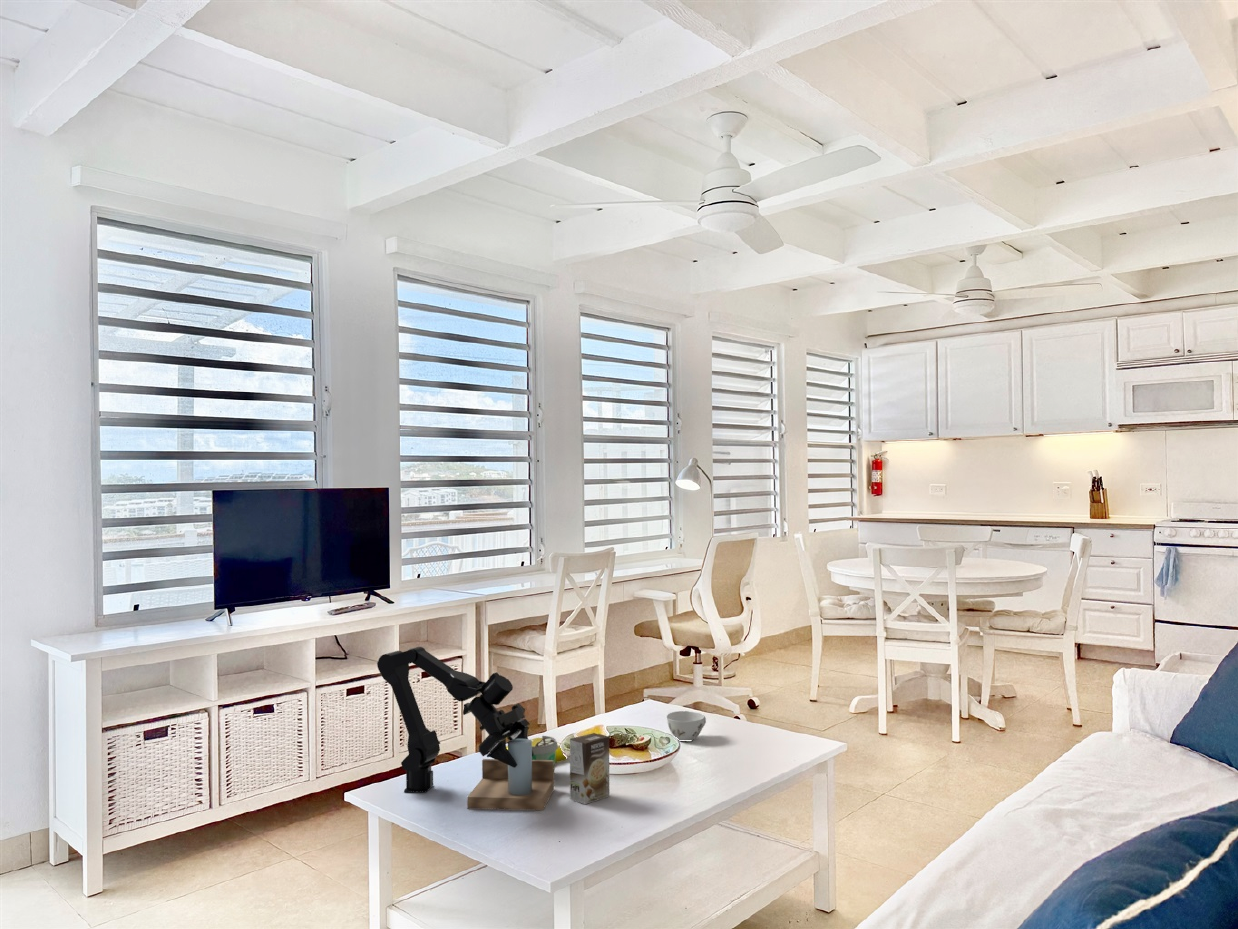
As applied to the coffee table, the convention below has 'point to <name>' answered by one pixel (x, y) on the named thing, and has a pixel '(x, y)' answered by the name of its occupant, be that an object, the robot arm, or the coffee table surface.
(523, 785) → the frosted glass cup
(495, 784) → the shelf
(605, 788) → the coffee box
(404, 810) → the coffee table surface
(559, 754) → the yellow bowl
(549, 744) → the food container
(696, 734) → the teacup
